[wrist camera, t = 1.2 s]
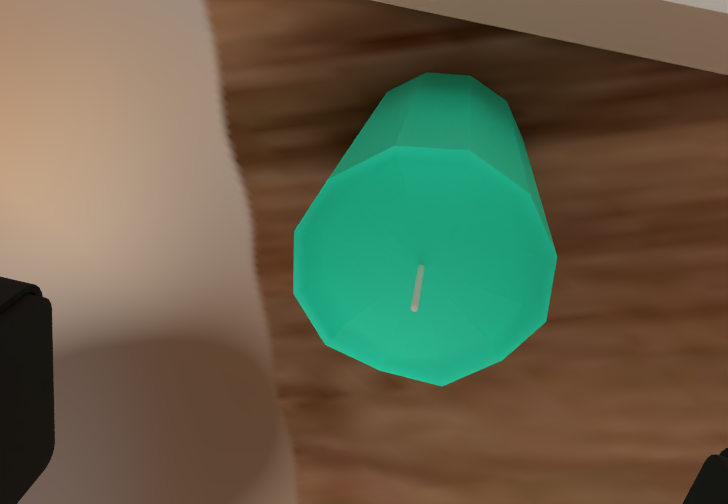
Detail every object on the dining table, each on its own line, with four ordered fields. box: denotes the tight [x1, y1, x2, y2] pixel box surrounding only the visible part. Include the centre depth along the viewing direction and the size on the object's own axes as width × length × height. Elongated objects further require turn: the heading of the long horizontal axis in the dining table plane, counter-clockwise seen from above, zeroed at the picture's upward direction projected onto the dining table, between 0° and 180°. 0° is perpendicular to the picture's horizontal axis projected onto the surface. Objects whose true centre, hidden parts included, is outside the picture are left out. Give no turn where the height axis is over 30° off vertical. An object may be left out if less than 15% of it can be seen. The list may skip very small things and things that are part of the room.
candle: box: [293, 72, 557, 386], centre depth 19 cm, size 6×6×12 cm
